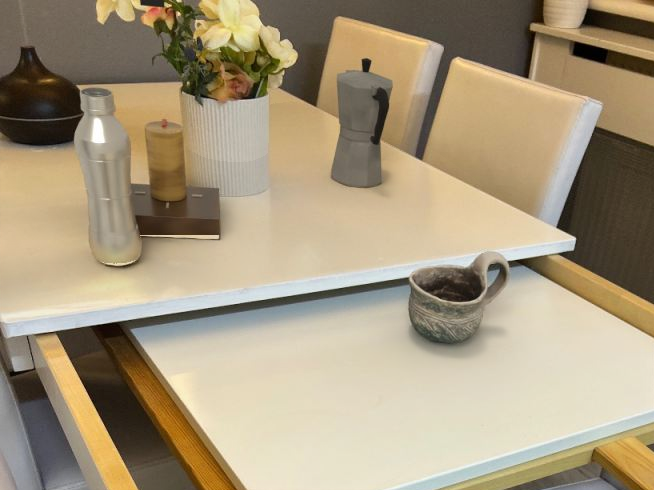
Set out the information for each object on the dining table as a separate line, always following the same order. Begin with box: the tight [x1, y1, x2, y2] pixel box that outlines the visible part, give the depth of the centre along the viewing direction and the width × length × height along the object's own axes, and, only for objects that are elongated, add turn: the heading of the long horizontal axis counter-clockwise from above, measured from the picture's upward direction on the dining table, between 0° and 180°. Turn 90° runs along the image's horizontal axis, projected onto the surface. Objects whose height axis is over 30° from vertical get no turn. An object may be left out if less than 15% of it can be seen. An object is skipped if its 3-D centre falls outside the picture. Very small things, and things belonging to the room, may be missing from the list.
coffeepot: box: [330, 57, 394, 189], centre depth 125 cm, size 15×9×18 cm, turn 24°
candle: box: [144, 118, 187, 201], centre depth 108 cm, size 5×5×9 cm
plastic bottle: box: [73, 86, 143, 264], centre depth 94 cm, size 6×7×20 cm
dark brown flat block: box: [131, 182, 221, 236], centre depth 111 cm, size 14×12×3 cm
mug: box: [407, 250, 511, 344], centre depth 94 cm, size 10×12×10 cm
